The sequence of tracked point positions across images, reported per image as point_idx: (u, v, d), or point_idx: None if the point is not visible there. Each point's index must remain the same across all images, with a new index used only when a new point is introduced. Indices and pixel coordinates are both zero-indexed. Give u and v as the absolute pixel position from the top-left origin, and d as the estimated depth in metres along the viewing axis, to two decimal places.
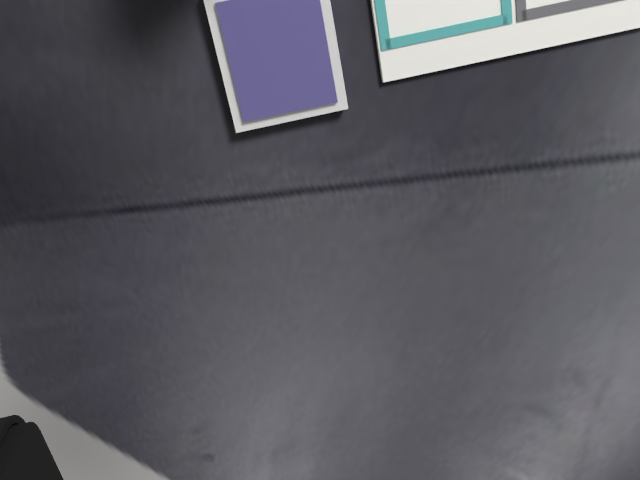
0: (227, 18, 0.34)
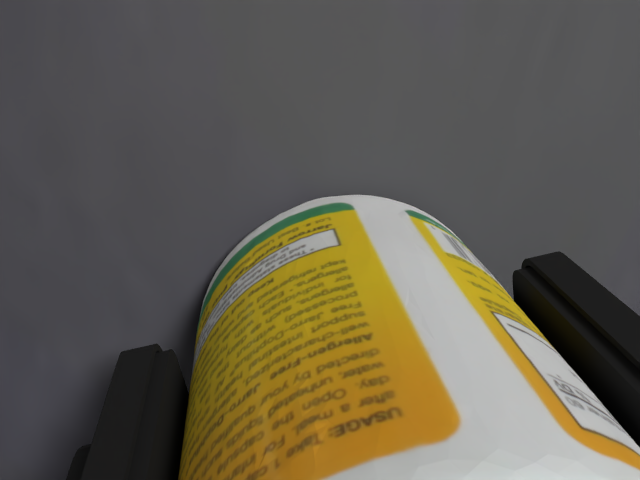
0: None
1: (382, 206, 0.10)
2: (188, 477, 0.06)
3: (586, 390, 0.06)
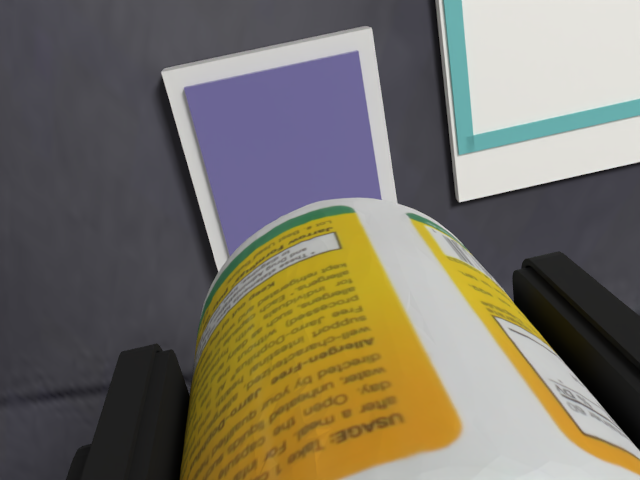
0: (205, 112, 0.20)
1: (383, 209, 0.10)
2: None
3: (588, 395, 0.06)
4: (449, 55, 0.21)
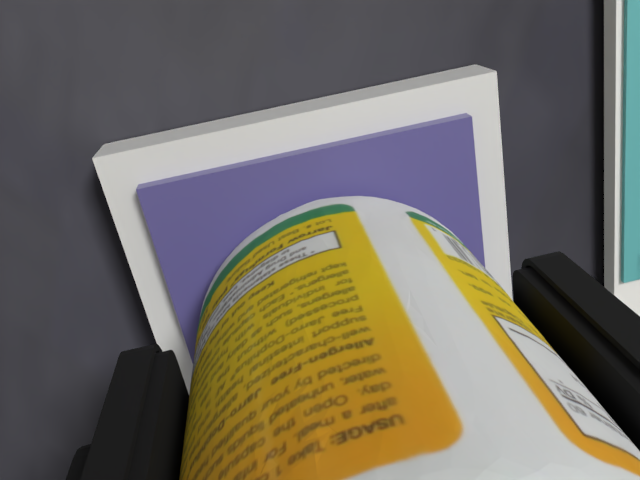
0: (179, 233, 0.11)
1: (383, 207, 0.10)
2: None
3: (588, 395, 0.06)
4: (625, 117, 0.12)
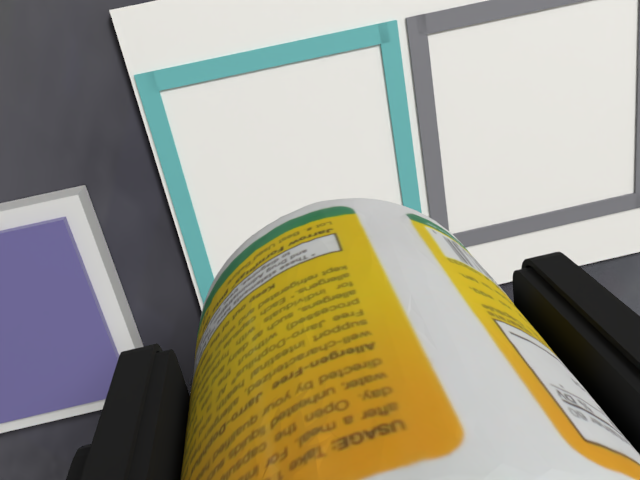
0: None
1: (383, 210, 0.10)
2: None
3: (589, 399, 0.06)
4: (176, 213, 0.20)
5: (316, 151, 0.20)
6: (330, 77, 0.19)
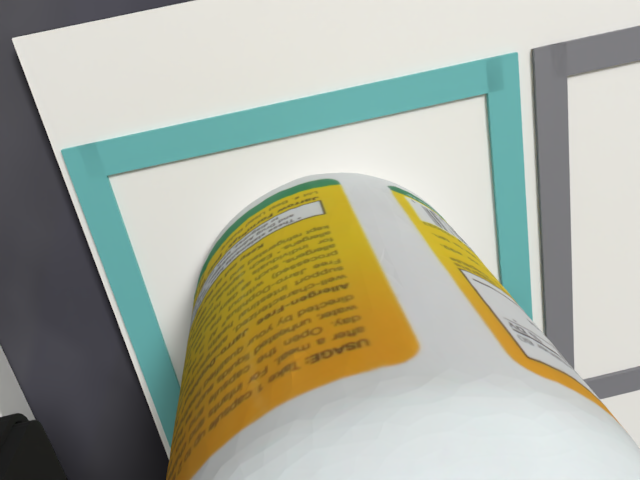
0: None
1: (366, 182, 0.11)
2: (183, 413, 0.07)
3: (540, 334, 0.07)
4: (140, 366, 0.12)
5: None
6: (399, 148, 0.11)
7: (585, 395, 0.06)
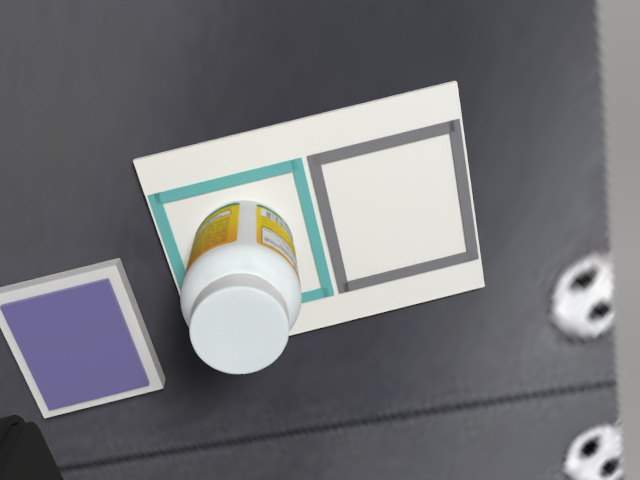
0: (15, 319, 0.33)
1: (249, 203, 0.32)
2: (188, 264, 0.28)
3: (276, 241, 0.28)
4: (174, 273, 0.33)
5: None
6: (264, 191, 0.32)
7: (273, 250, 0.27)
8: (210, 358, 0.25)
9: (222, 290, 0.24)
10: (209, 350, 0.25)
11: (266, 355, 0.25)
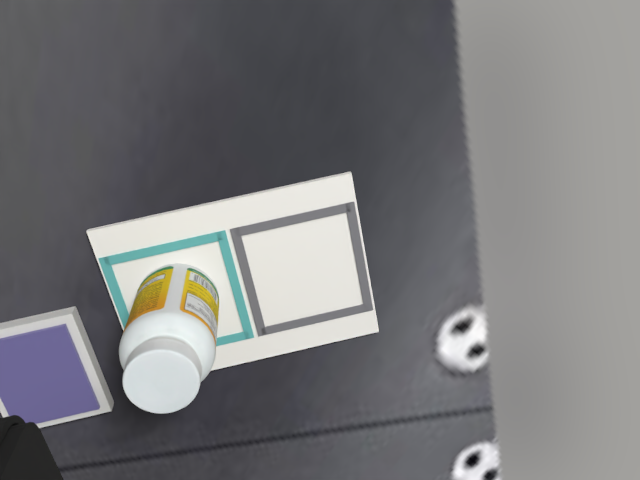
0: None
1: (181, 267, 0.39)
2: (127, 322, 0.36)
3: (197, 306, 0.35)
4: (121, 319, 0.41)
5: None
6: (194, 256, 0.40)
7: (193, 315, 0.34)
8: (139, 402, 0.32)
9: (148, 352, 0.31)
10: (138, 396, 0.32)
11: (182, 399, 0.33)
